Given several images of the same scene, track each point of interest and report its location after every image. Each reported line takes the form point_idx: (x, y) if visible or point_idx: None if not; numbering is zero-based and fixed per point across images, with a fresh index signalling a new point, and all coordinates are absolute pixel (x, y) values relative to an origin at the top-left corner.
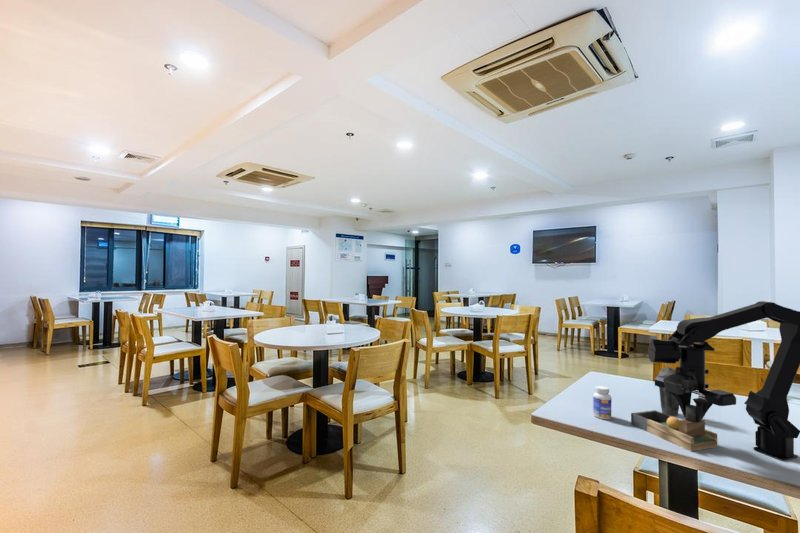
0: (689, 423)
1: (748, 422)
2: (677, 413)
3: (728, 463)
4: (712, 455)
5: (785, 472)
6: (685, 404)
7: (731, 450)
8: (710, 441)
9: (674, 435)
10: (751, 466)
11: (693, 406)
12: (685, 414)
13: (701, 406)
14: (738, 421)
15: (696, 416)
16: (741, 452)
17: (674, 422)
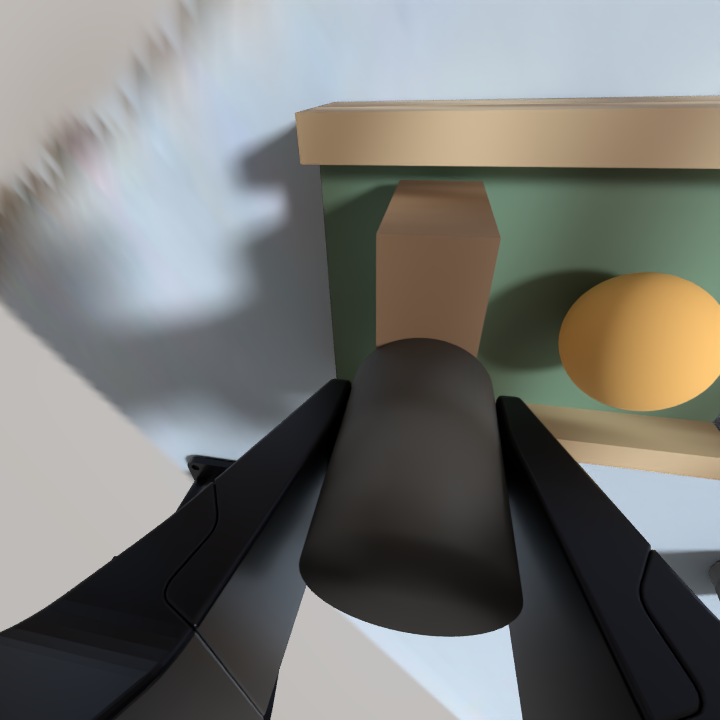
0: (379, 287)
1: (470, 641)
2: (717, 586)
3: (146, 198)
4: (254, 217)
5: (93, 370)
6: (547, 608)
7: (299, 391)
8: (335, 345)
9: (507, 106)
10: (127, 293)
11: (393, 598)
12: (503, 426)
13: (47, 606)
14: (492, 635)
15: (316, 420)
16: (274, 408)
17: (617, 315)
